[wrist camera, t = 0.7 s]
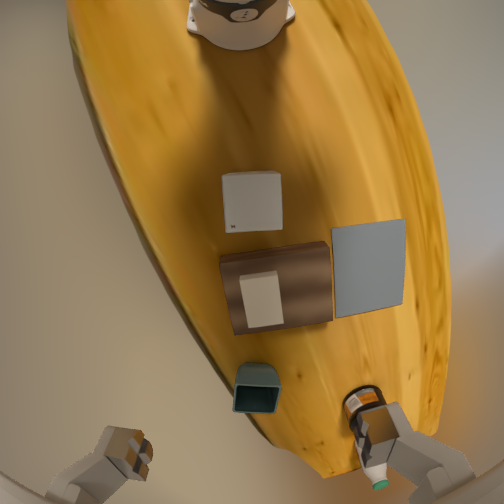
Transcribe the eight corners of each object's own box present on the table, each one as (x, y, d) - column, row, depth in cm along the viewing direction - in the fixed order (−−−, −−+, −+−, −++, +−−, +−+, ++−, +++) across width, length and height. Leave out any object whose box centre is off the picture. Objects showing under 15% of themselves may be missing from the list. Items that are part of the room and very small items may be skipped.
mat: (331, 228, 48) (331, 229, 47) (404, 218, 47) (405, 218, 47) (335, 317, 53) (335, 317, 53) (401, 303, 52) (402, 303, 52)
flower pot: (278, 356, 56) (282, 386, 48) (273, 385, 59) (275, 414, 51) (236, 354, 56) (234, 383, 48) (234, 383, 59) (232, 412, 50)
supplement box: (275, 213, 47) (283, 232, 35) (231, 215, 47) (223, 234, 35) (274, 169, 45) (282, 172, 33) (228, 171, 45) (220, 174, 33)
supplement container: (341, 389, 60) (354, 425, 49) (381, 378, 59) (398, 411, 48) (341, 413, 63) (352, 447, 52) (378, 403, 63) (392, 435, 51)
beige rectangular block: (239, 275, 46) (239, 280, 44) (276, 270, 46) (277, 275, 44) (248, 322, 49) (248, 328, 47) (282, 317, 49) (283, 323, 47)
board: (221, 255, 49) (218, 263, 45) (323, 240, 48) (329, 247, 45) (235, 323, 54) (234, 335, 50) (327, 309, 53) (332, 320, 49)
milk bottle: (353, 436, 67) (368, 488, 48) (376, 428, 67) (395, 478, 48) (354, 446, 70) (368, 495, 51) (377, 439, 69) (393, 486, 50)
